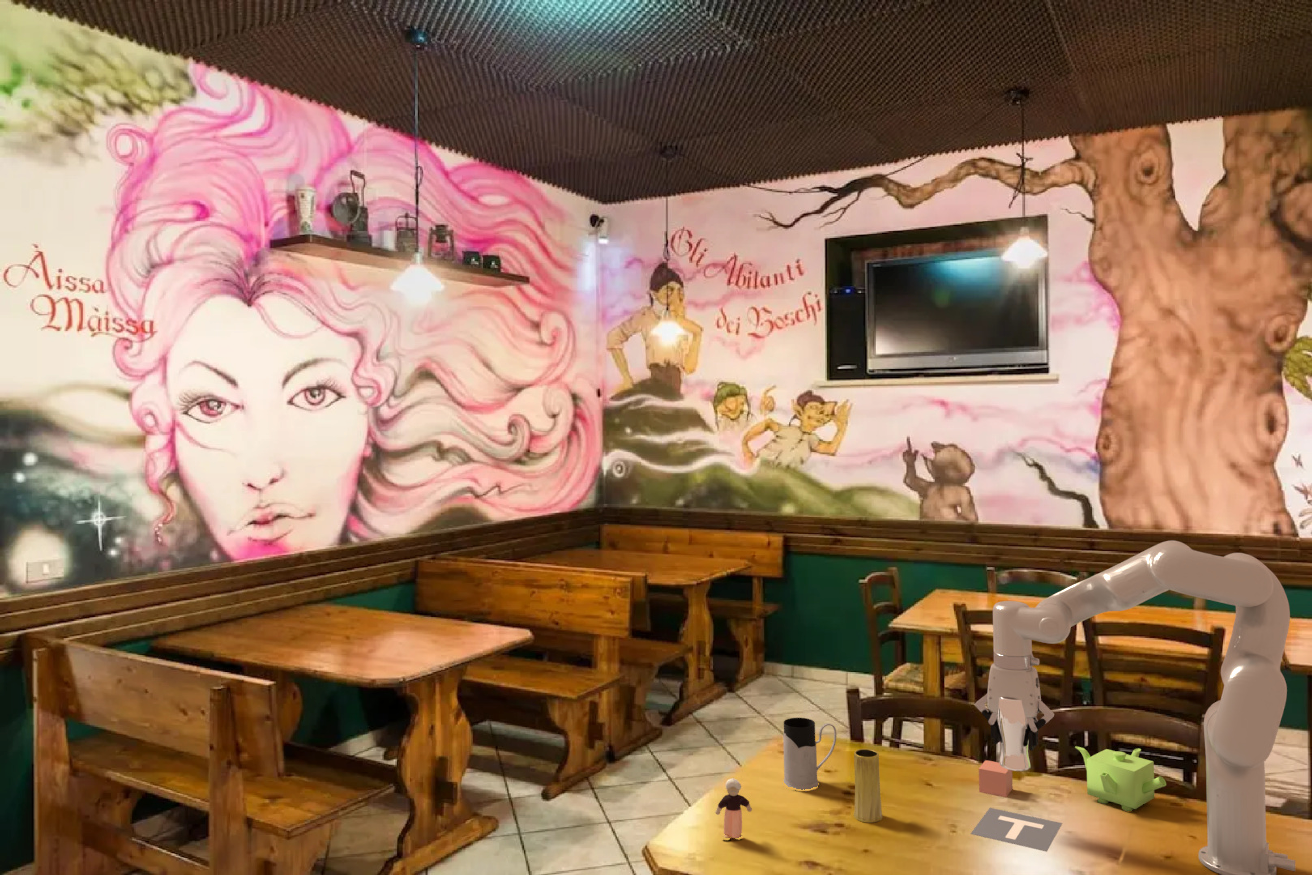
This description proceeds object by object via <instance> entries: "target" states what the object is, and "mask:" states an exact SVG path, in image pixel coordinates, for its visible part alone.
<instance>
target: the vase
mask: <svg viewBox="0 0 1312 875" xmlns="http://www.w3.org/2000/svg"><path fill="white" fill-rule="evenodd" d="M853 753H854V754H853V761H854V762H853V765H854V812H853V816H854V819H856V820H857V821H859V822H862V823H868V824H871V823H872V824H873V823H878V822H881V820H882V819H883V813H882V800H881V798H882V797H881V782H880V780H881V779H880V778H881V777H880V761H879V760H880V759H879V754H880V753H879V752H878V751H876V750H875V749H871V748H859V749H856V750H855V751H854V752H853Z"/></svg>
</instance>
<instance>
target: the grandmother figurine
mask: <svg viewBox="0 0 1312 875" xmlns="http://www.w3.org/2000/svg"><path fill="white" fill-rule="evenodd" d="M725 789H726V791H727V794H726V795H724V796H723V797H722V798H721V800H720V801H719V803H718V804H717V806H716V810H715V812H714V813H715V815H721V811H722V809H723V808H725V810H724V816H723V817H724V818H723V836H724V837H725V838H730V837H731V838H733V839H734V838H739V837H741V836H743V835H742V833H743V817H742V816H743V815H742V814H743V813H742V808H741V806H742V807H744V808H746V811H747V812H750V813H751V812H752V811H753V809H752V807H751V804H750V801H749V800H748V799H747V798H746V797H744V796H743V795H741V794H739V792H740V790H741V789H742V785H741V783H740V781H739V780H738V779H736V778H734V777H733V778H729V779H728V780H726V782H725ZM724 834H725V835H724Z"/></svg>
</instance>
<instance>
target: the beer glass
mask: <svg viewBox="0 0 1312 875" xmlns="http://www.w3.org/2000/svg"><path fill="white" fill-rule="evenodd" d="M996 718H997V719H996V720H997V727H998V732H999V736H1000V741H999V743H1000V757H999V761H998V763H1000V765H1001V766H1002V767H1003V768H1005V769H1009V770H1012V771H1013V772H1014V771H1015V772H1024V771H1028V770H1029V769H1031V762H1030V761H1031V760H1030V758H1029V757H1030V756H1029V736H1028V732H1029V731H1030V726H1029V724H1028V718H1026V717H1025V713H1024V710H1023V706H1022V701H1021V700H1020V699H1007V698H1003V697H999V704H998V710H997V713H996Z"/></svg>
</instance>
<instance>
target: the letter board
mask: <svg viewBox="0 0 1312 875" xmlns="http://www.w3.org/2000/svg"><path fill="white" fill-rule="evenodd" d="M1062 824H1063V823H1062V822H1058V821H1054V820H1049V819H1044V818H1040V817H1034V816H1030V815H1025V814H1021V813H1016V812H1011V811H1008V810H1003V809H998V808H994V807H989V808H988V809H987V811H986V813H984V815H983V816H982V818H981V819H980V820H979V821H978V823H977V824H976V826H975V827H974V828H973V829H972V831H971V832H970V835H973V836H978V837H982V838H986V839H992V840H995V841H999V842H1004V843H1007V844H1011V845H1016V846H1021V847H1024V848H1030V849H1034V850H1038V851H1042V852H1048V850H1049V848H1050V846H1051V845H1052V842H1053V840H1054V838H1055V837H1056V836H1057V834H1058V831H1059V830H1060V828H1061V827H1062Z"/></svg>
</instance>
